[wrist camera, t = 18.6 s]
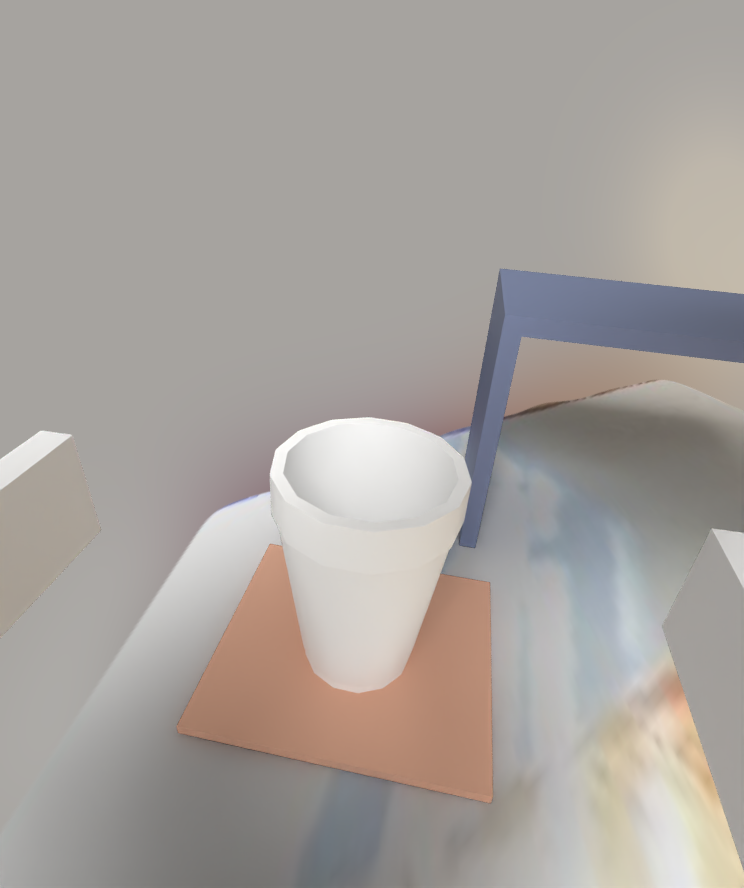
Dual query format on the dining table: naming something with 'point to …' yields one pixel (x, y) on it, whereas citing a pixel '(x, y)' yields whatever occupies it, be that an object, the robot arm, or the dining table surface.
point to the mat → (356, 714)
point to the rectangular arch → (586, 322)
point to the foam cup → (365, 540)
